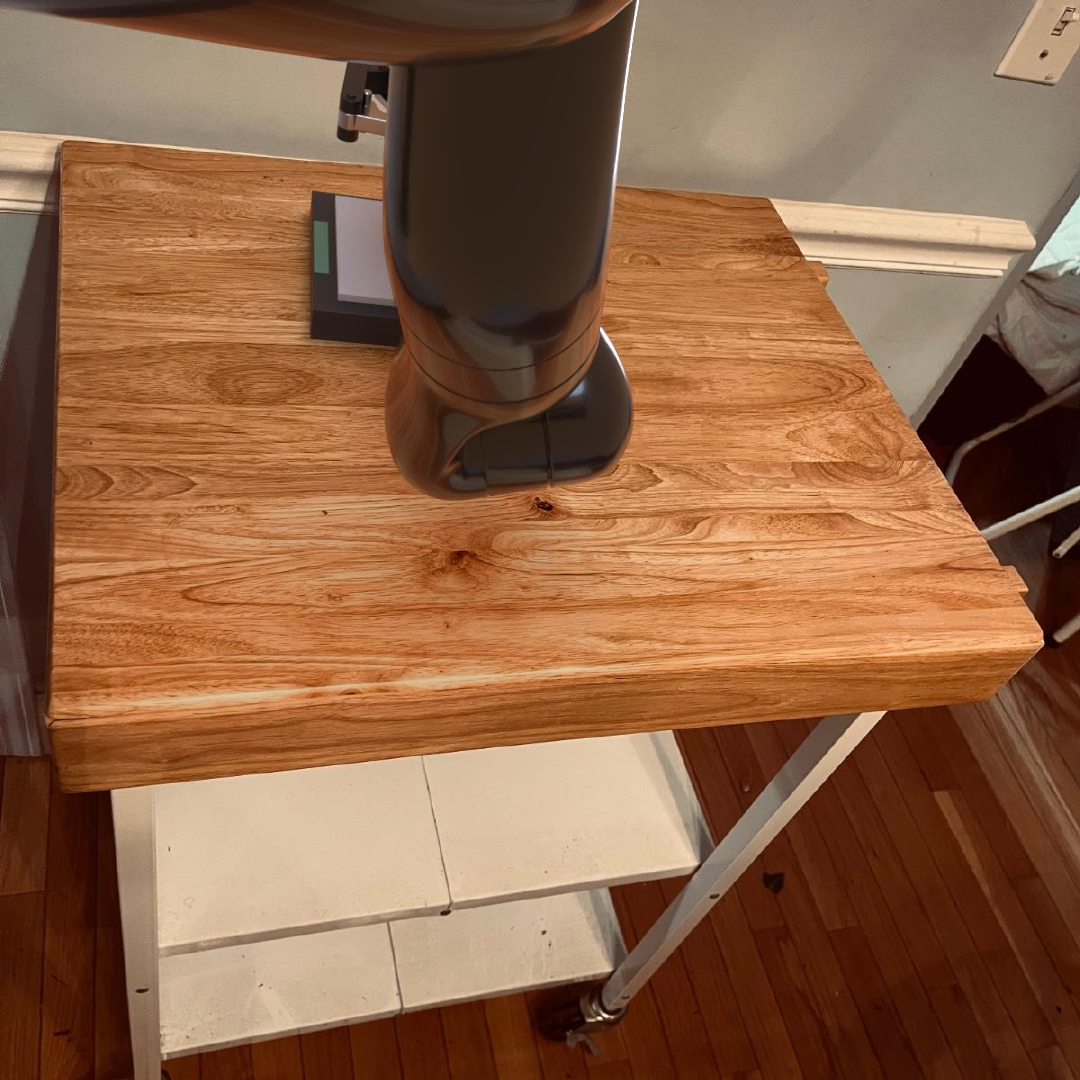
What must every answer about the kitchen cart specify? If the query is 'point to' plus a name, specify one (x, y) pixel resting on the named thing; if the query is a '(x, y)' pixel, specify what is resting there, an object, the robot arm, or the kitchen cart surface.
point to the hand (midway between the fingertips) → (445, 54)
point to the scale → (350, 272)
